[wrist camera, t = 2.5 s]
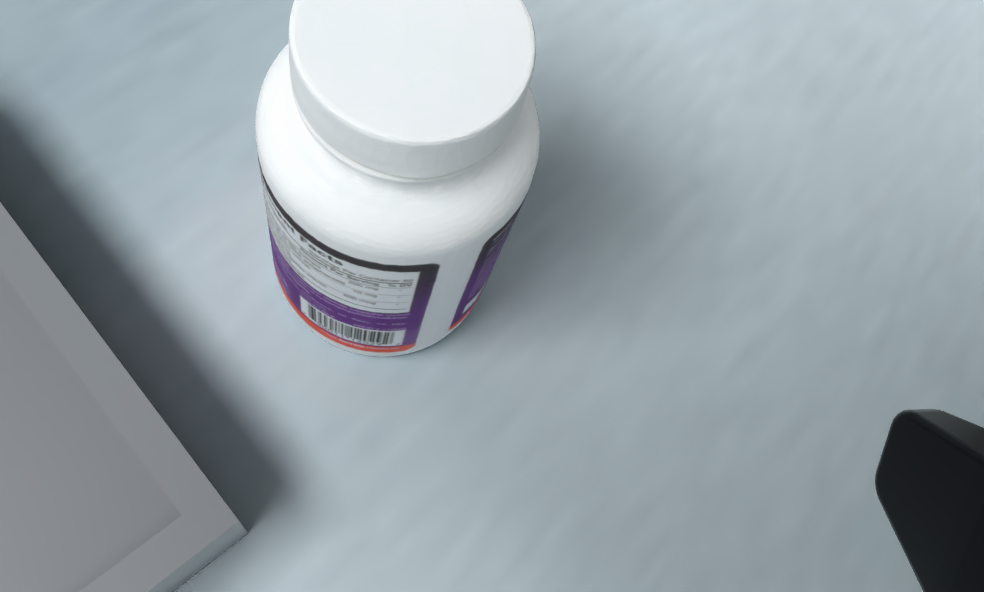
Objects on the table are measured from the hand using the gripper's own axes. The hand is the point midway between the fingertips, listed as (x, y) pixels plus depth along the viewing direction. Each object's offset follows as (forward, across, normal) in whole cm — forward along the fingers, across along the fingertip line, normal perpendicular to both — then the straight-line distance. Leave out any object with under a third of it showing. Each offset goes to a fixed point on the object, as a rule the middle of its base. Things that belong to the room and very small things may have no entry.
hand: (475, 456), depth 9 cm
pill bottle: (+15, 0, +4) cm, 15 cm away
